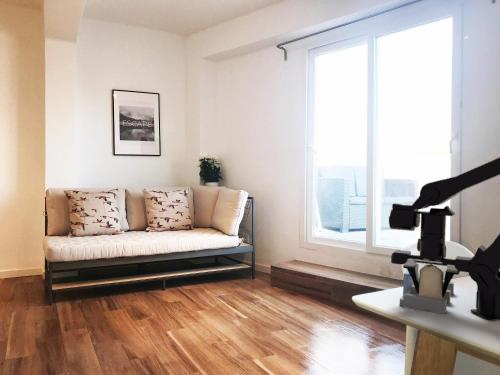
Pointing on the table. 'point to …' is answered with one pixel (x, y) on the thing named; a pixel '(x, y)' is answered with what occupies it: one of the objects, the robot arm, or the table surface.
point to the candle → (431, 281)
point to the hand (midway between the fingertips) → (430, 294)
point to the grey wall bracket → (423, 297)
